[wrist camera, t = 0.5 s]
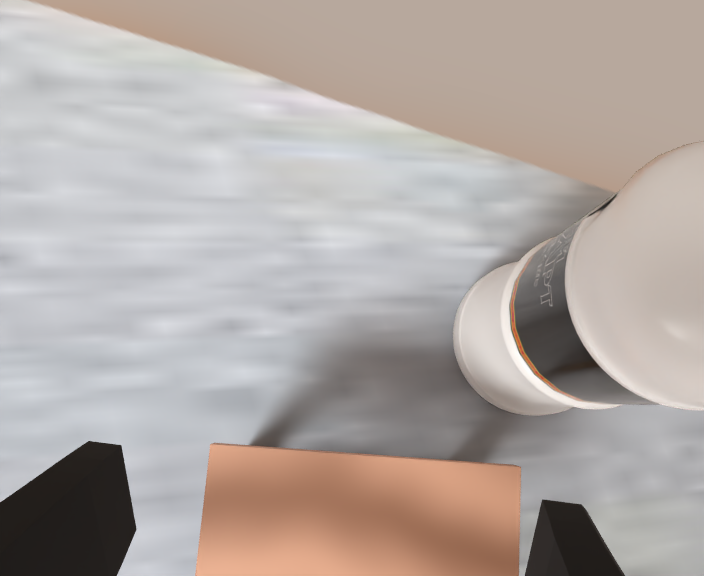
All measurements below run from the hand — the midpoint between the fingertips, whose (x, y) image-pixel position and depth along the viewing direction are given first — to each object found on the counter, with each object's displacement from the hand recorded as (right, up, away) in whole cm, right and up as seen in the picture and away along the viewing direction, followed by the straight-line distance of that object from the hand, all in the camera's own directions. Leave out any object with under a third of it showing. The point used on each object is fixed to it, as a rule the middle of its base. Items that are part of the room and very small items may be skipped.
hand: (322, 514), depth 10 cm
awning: (+1, -8, +26) cm, 27 cm away
